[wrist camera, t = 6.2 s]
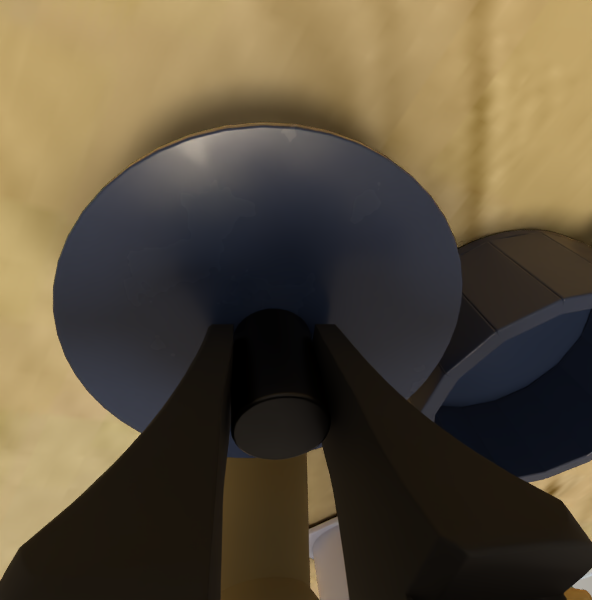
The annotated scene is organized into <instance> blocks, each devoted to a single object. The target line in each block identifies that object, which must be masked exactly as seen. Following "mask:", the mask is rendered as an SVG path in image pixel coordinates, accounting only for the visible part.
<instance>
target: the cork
mask: <svg viewBox="0 0 592 600" xmlns="http://www.w3.org/2000/svg"><path fill="white" fill-rule="evenodd" d="M221 600H319V599H318V597H317V596H316V595H315V594H314V592H313V591H312V590H311V588H310V561H309V522H308V484H307V453H305V454H302V455H300V456H297V457H293V458H289V459H282V460H267V459H260V458H231V457H227V463H226V471H225V480H224V493H223V524H222V562H221Z"/></svg>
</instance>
